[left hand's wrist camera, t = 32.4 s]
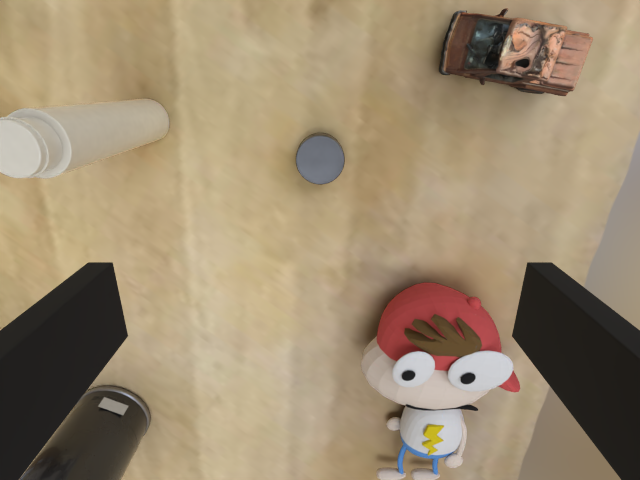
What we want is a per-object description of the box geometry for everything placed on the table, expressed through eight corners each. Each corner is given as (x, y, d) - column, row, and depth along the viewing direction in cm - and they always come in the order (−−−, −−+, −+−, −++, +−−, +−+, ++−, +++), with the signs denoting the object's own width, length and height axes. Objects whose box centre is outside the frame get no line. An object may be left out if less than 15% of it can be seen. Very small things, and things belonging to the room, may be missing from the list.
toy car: (556, 95, 38) (605, 98, 31) (431, 91, 38) (454, 92, 31) (574, 19, 36) (631, 5, 29) (440, 14, 35) (468, -2, 29)
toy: (333, 516, 48) (393, 324, 34) (326, 439, 57) (371, 261, 43) (476, 516, 51) (586, 338, 37) (447, 443, 59) (527, 276, 45)
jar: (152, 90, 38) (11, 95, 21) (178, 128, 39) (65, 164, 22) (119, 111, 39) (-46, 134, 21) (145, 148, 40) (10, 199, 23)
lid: (317, 122, 39) (316, 125, 37) (352, 153, 40) (354, 157, 38) (287, 159, 40) (286, 163, 38) (323, 188, 41) (323, 193, 39)
